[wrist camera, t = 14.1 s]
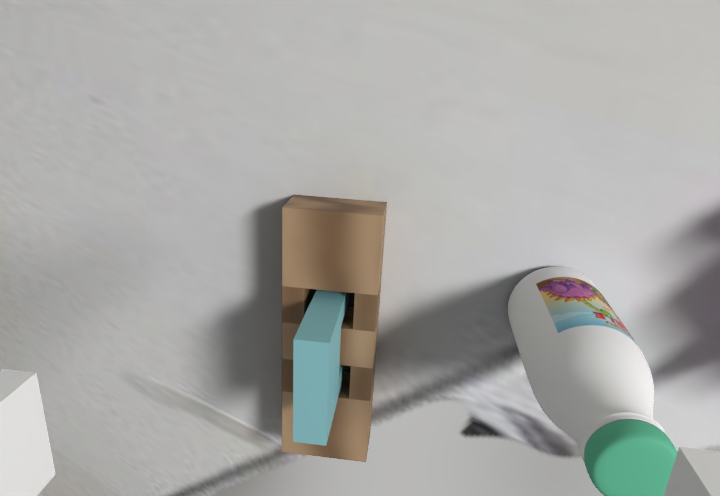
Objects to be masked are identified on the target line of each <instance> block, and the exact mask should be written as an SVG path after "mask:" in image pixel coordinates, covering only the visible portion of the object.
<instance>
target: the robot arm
mask: <svg viewBox="0 0 720 496" xmlns="http://www.w3.org/2000/svg"><path fill="white" fill-rule="evenodd" d="M54 475H55V469H54V464H53V458H52V453H51V448H50V442H49V437H48V432H47V427H46V421H45V416H44V411H43V406H42V400H41V395H40V390H39V384H38V379H37V374H36V373H34V372H26V371H17V370H9V369H2V370H1V371H0V496H37V495H38V494H39V493H40V492H41V490H42V489H43V488H44V487H45V486H46V485H47V484H48V482H49V481H50V480H51V479H52V478H53V477H54ZM664 496H720V452H718V451H709V450H701V449H692V448H683V447H679V450H678V453H677V456H676V459H675V462H674V465H673V468H672V471H671V474H670V478H669V481H668V484H667V487H666V490H665V493H664Z"/></svg>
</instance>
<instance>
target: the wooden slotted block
mask: <svg viewBox="0 0 720 496" xmlns="http://www.w3.org/2000/svg"><path fill="white" fill-rule="evenodd" d="M386 206H387V202H376V201H363V200H351V199H339V198H326V197H314V196H301V195H293V196H292V197H291V198H290V200H289V201H288V202H287V203H286V204H285V205H284V206H283V207H282V452H289V453H297V454H305V455H313V456H322V457H329V458H338V459H347V460H354V461H362V462H366V458H367V451H368V444H369V437H370V427H371V413H372V400H373V386H374V372H375V358H376V344H377V330H378V317H379V303H380V289H381V275H382V261H383V247H384V234H385V220H386ZM313 289H317V290H327V291H338V292H348V293H355V298H354V308H350V307H347V308H346V312H345V315H344V318H343V321H342V325H341V340H340V365H345V366H351V372H350V373H345V372H344V376H343V380H342V384H341V388H340V392H339V396H338V401H337V405H336V409H335V413H334V417H333V421H332V425H331V429H330V433H329V437H328V441H327V445H326V446H324V445H316V444H307V443H299V442H293V342H294V337H295V335H296V333H297V331H298V329H299V326H300V324H301V322H302V320H303V318H304V315H305V313H306V311H307V309H308V307H309V304H310V302H311V301H312V299H313Z"/></svg>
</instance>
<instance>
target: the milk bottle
mask: <svg viewBox="0 0 720 496" xmlns="http://www.w3.org/2000/svg"><path fill="white" fill-rule="evenodd" d="M508 317H509V321H510V325H511V328H512V331H513V334H514V337H515V341H516V344H517V347H518V350H519V353H520V356H521V359H522V362H523V365H524V368H525V371H526V374H527V377H528V380H529V382H530V385H531V388H532V390H533V393H534V395H535V397H536V399H537V401H538V403H539V405H540V406H541V408H542V410H543V411H544V412H545V414H546V415H547V416H548V417H549V419H550V420H551V421H552V422H553V423H554V424H555V425H556V426H557V427H558V428H560V429H561V430H562V431H564V432H565V433H566V434H568V435H569V436H571V437H572V438H574V439H575V440H576V441H577V442H578V443H579V444H580V451H581V456H582V458H583V460H584V462H585V465H586V468H587V471H588V474H589V476H590V478H591V480H592V482H593V484H594V485H595V486H596V488H597V489H598V490H599V491H600V492H601V493H602V494H603V495H604V496H664V493H665V490H666V487H667V484H668V481H669V478H670V474H671V471H672V468H673V465H674V462H675V459H676V456H677V451H676V449H675V447H674V445H673V444H672V442H671V441H670V439H669V438H668V437H667V435H666V434H665V431H664V430H663V428H662V427H661V426H660V425H659V424H658V423H657V422H656V421H655V420H653V405H654V384H653V378H652V375H651V371H650V368H649V366H648V363H647V361H646V359H645V357H644V355H643V353H642V352H641V350H640V348H639V347H638V345H637V344H636V342H635V340H634V339H633V337H632V336H631V335H630V333H629V332H628V330H627V329H626V328H625V326H624V325H623V323H622V322H621V320H620V319H619V318H618V316H617V315H616V314H615V312H614V311H613V309H612V308H611V307H610V305H609V304H608V303H607V301H606V300H605V298H604V297H603V296H602V294H601V293H600V292H599V290H598V289H597V288H596V286H595V285H594V284H593V283H592V282H591V281H590V279H589V278H587V277H586V276H585V275H584V274H582V273H580V272H578V271H576V270H574V269H571V268H566V267H547V268H542V269H539V270H536V271H534V272H532V273H530V274H528V275H527V276H525V277H524V278H523V279H522V280H521V281H520V282H519V283H518V284H517V285H516V286H515V288H514V289H513V291H512V293H511V295H510V298H509V302H508Z"/></svg>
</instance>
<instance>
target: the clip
mask: <svg viewBox="0 0 720 496" xmlns="http://www.w3.org/2000/svg"><path fill="white" fill-rule="evenodd" d="M348 302H349V293H348V292H338V291H327V290H316V292H315V294H314V297H313V299H312V301H311V302H310V304H309V307H308V309H307V311H306V313H305V315H304V318H303V320H302V322H301V324H300V326H299V329H298V331H297V333H296V335H295V337H294V342H293V442H299V443H307V444H316V445H324V446H326V445H327V441H328V437H329V433H330V429H331V425H332V421H333V417H334V413H335V409H336V405H337V401H338V396H339V392H340V388H341V384H342V380H343V376H344V372H345V368H346V366H345V365H340V340H341V325H342V321H343V318H344V315H345V312H346V308H347V305H348Z"/></svg>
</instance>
